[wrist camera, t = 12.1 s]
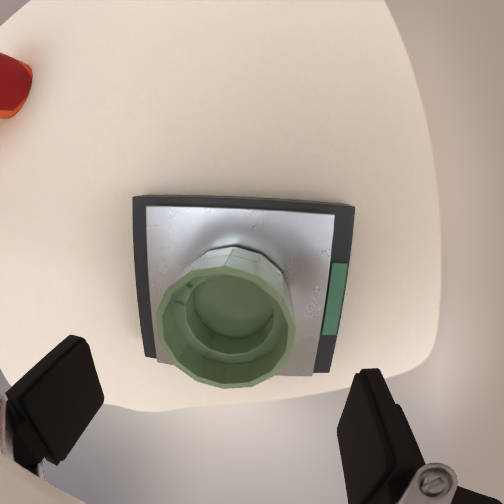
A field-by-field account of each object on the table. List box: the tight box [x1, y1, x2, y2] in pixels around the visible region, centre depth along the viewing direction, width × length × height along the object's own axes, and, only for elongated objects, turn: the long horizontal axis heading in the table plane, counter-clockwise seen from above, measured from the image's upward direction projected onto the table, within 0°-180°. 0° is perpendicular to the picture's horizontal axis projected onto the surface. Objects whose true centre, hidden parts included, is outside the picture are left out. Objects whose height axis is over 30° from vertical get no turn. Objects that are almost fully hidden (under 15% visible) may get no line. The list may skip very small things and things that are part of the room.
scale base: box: [133, 195, 355, 373], centre depth 19 cm, size 14×12×2 cm
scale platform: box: [146, 205, 335, 376], centre depth 18 cm, size 11×11×1 cm
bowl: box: [156, 247, 296, 389], centre depth 15 cm, size 7×7×4 cm
